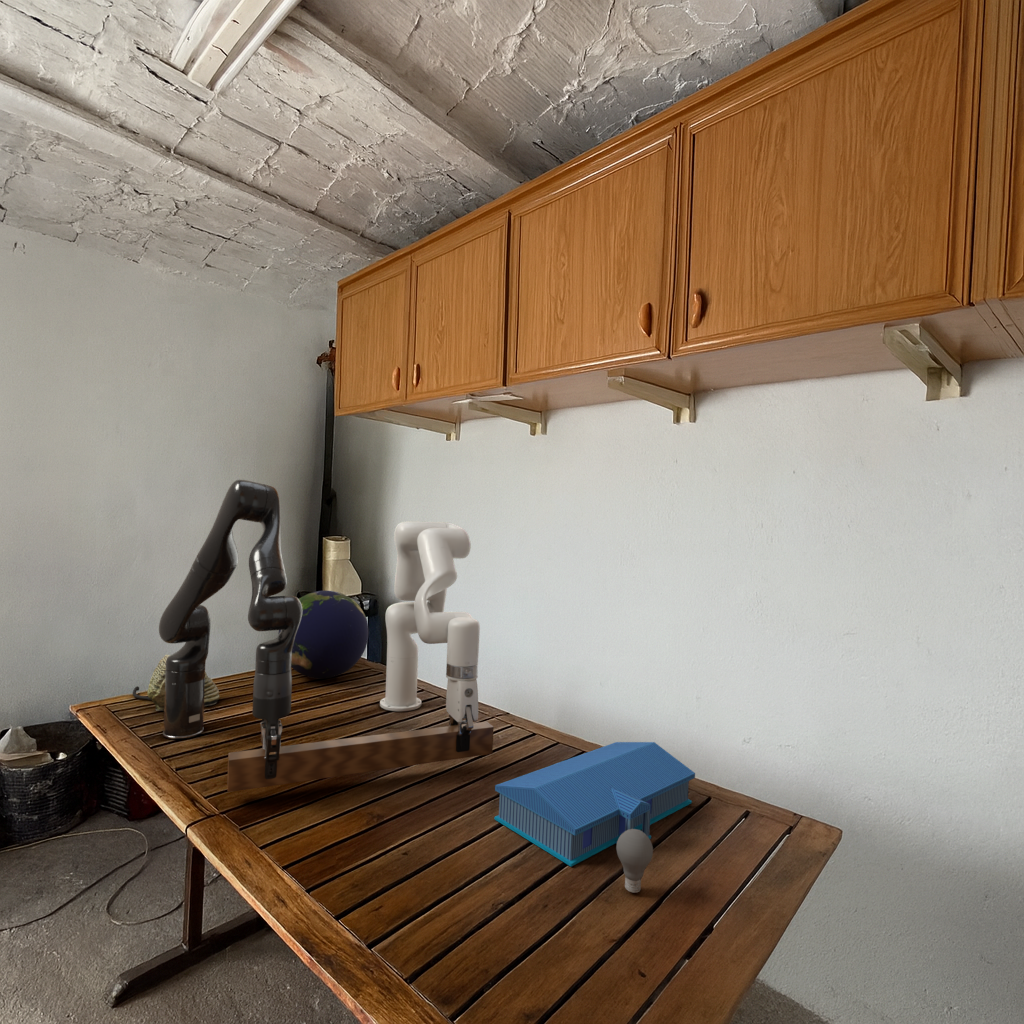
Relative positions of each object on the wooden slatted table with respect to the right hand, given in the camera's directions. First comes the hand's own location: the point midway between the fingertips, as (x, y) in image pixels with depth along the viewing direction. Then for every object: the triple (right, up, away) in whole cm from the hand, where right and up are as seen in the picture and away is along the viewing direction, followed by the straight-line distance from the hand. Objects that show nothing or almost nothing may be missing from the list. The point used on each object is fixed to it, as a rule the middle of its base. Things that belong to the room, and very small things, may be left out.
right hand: (458, 746), depth 150 cm
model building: (+31, -7, -19) cm, 37 cm away
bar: (-19, -1, -9) cm, 21 cm away
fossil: (-83, -1, +35) cm, 90 cm away
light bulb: (+33, -8, -45) cm, 56 cm away
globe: (-53, -2, +69) cm, 87 cm away
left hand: (-38, +1, -18) cm, 42 cm away
